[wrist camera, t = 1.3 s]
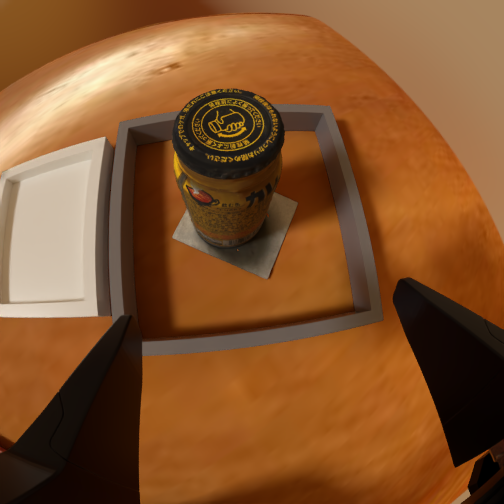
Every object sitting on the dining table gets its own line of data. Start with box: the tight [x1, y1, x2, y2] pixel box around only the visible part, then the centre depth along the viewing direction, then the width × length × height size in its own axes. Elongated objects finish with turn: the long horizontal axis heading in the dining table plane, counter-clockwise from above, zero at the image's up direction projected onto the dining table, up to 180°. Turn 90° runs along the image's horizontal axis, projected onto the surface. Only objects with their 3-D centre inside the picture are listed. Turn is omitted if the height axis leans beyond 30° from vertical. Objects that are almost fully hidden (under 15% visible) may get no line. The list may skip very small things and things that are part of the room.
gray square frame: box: [109, 104, 383, 356], centre depth 21 cm, size 20×20×3 cm
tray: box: [0, 137, 114, 318], centre depth 20 cm, size 16×15×2 cm
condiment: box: [172, 89, 298, 279], centre depth 17 cm, size 7×8×12 cm
